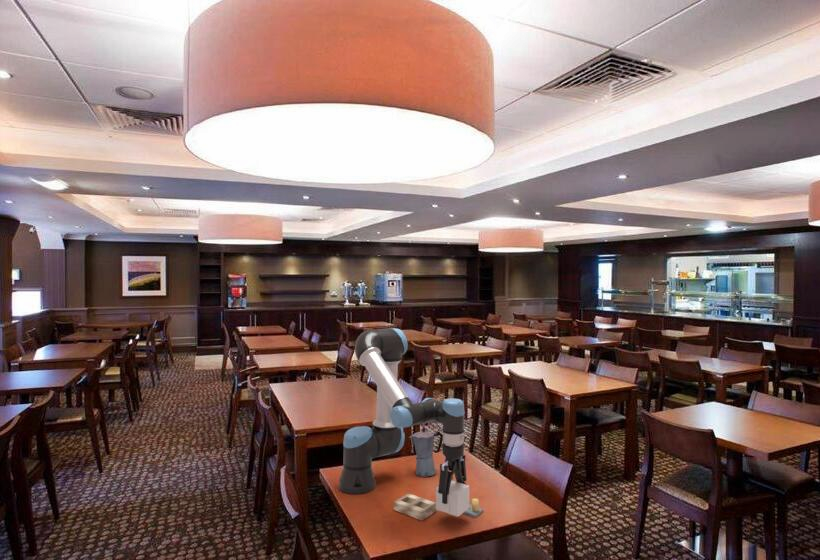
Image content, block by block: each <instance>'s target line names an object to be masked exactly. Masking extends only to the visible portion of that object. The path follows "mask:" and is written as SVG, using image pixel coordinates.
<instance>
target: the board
mask: <svg viewBox="0 0 820 560" xmlns="http://www.w3.org/2000/svg"><path fill="white" fill-rule="evenodd" d="M479 501H480V500H479V498H475V497H474V498H471V504H470V503H469V509H468V510H466V511H465V512H464V513H462V514H463V515H466V516H469V517H471V518H474V519H476V518H478V516H480V515H481V514H482V513H484V508H481V507H479V506H480V505H479V504H480V502H479ZM462 514H461V515H462Z"/></svg>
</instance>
